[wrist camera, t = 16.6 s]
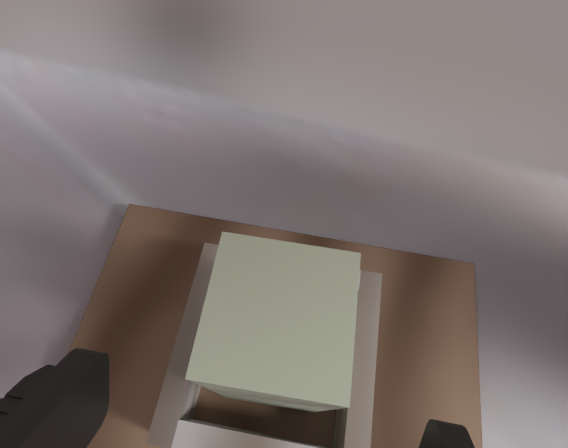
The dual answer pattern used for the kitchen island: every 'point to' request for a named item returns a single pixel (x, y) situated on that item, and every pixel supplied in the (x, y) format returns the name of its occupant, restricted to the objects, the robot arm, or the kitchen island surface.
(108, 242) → the kitchen island surface
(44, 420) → the robot arm
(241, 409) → the board
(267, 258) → the post
